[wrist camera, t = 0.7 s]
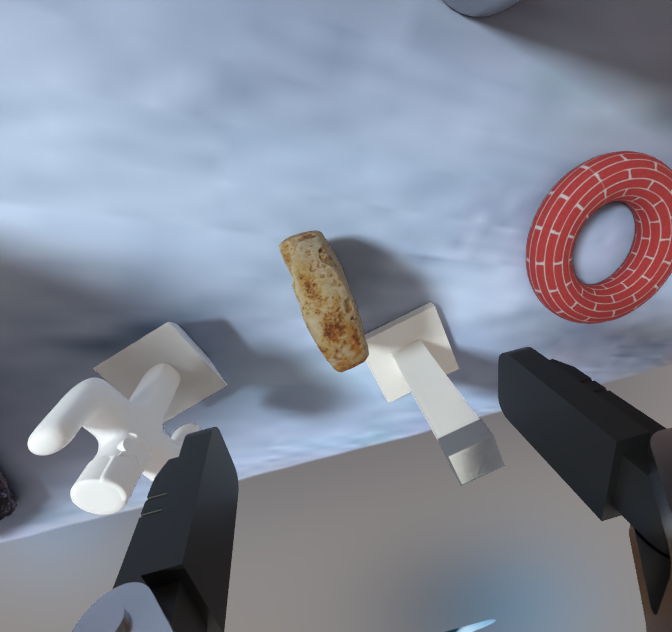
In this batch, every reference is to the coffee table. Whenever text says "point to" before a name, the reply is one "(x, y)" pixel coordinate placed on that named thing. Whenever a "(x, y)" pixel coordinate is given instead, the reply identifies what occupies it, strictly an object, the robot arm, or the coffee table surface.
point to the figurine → (130, 415)
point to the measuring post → (432, 388)
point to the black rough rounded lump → (6, 499)
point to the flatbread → (325, 299)
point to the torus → (570, 215)
